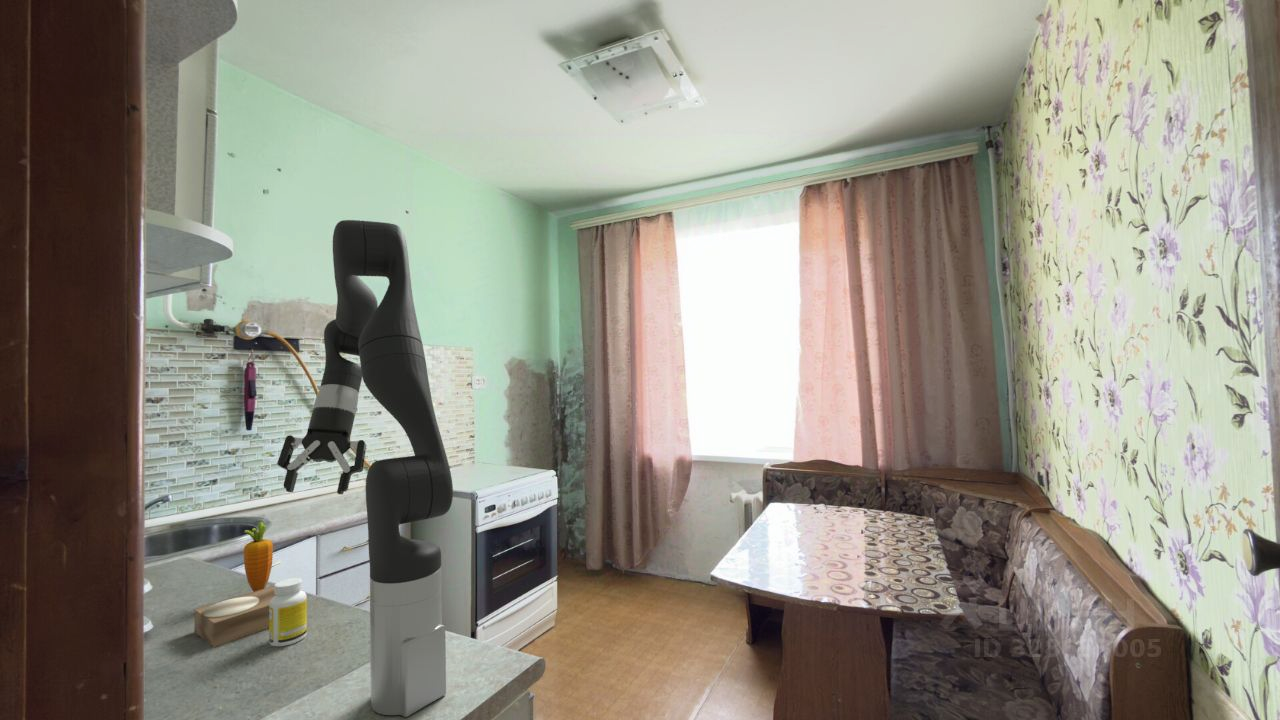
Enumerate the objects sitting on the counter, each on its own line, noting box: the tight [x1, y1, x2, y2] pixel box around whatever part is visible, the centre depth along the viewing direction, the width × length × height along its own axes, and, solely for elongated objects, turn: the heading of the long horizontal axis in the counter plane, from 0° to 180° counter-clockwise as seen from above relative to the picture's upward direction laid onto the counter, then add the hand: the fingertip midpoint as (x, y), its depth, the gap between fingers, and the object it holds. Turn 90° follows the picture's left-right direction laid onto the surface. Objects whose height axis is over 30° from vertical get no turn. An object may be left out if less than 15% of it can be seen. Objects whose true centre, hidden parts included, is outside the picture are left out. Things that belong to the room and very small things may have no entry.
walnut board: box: [193, 585, 276, 648], centre depth 97 cm, size 10×14×4 cm
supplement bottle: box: [268, 577, 308, 647], centre depth 90 cm, size 5×5×10 cm
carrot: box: [243, 521, 274, 592], centre depth 110 cm, size 5×5×15 cm
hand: (315, 492), depth 99 cm, fingers open, 8 cm apart
